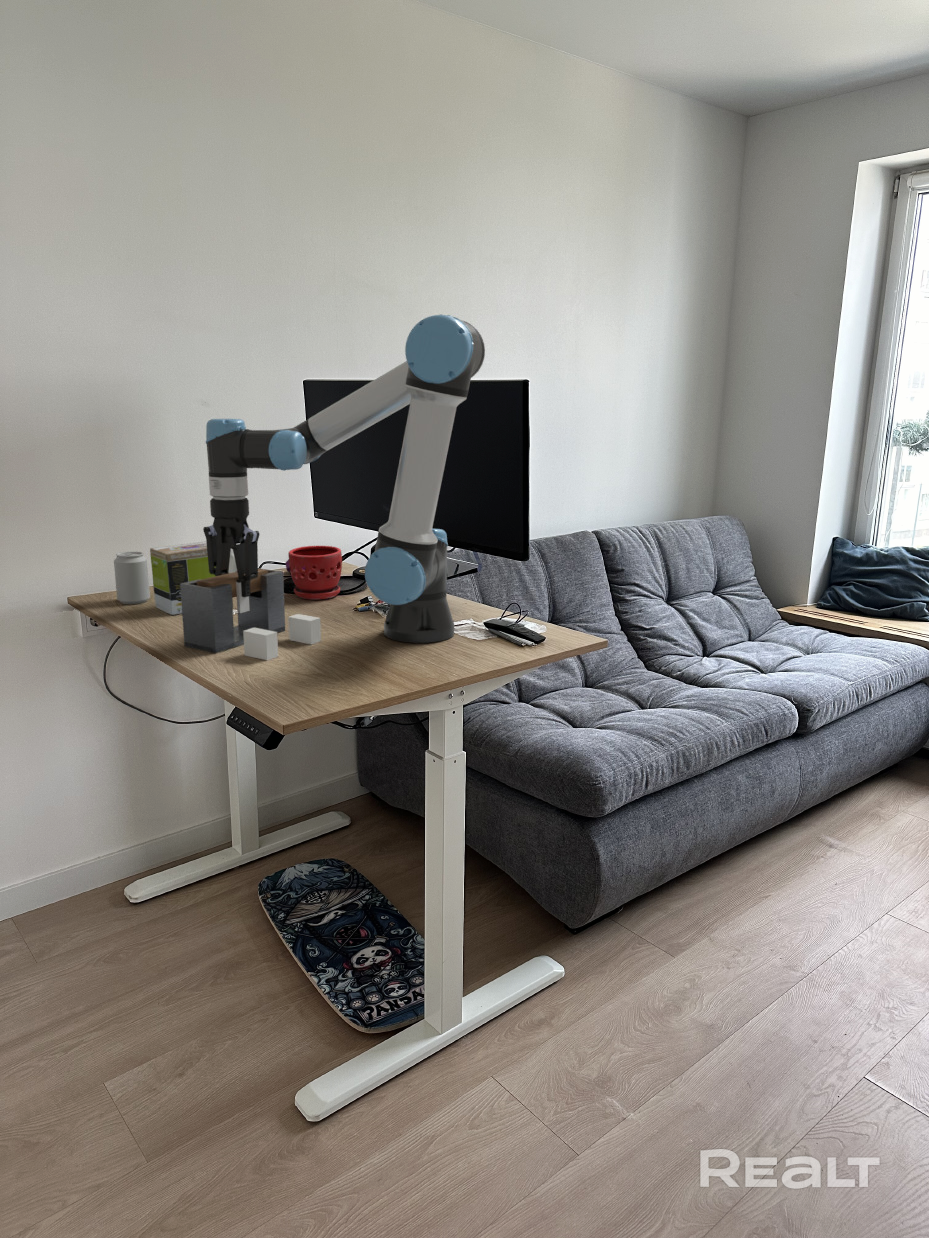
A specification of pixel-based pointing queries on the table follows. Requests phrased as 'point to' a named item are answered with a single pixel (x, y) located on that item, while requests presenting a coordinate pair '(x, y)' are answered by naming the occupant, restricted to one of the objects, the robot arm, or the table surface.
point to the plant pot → (316, 571)
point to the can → (131, 577)
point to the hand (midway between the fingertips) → (235, 609)
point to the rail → (232, 581)
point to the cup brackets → (229, 613)
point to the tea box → (177, 572)
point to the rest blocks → (265, 641)
